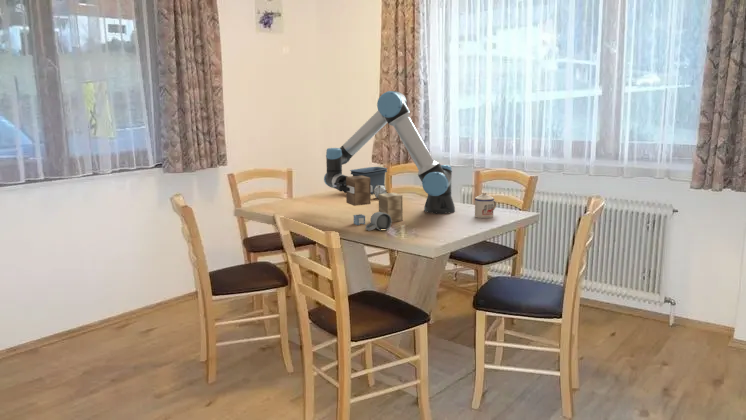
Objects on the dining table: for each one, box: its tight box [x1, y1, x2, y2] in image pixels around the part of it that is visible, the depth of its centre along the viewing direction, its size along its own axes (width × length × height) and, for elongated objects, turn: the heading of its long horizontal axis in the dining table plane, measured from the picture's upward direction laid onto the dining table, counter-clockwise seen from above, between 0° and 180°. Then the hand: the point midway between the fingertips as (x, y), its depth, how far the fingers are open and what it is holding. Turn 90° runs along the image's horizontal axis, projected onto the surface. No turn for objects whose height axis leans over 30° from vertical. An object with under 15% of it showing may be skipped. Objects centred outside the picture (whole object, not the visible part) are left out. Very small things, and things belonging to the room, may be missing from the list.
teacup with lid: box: [474, 191, 497, 219], centre depth 288 cm, size 12×9×12 cm
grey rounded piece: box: [373, 184, 389, 200], centre depth 338 cm, size 9×8×10 cm
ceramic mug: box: [365, 211, 393, 232], centre depth 264 cm, size 11×8×8 cm
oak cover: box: [378, 192, 404, 223], centre depth 282 cm, size 8×8×12 cm
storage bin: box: [349, 166, 388, 195], centre depth 358 cm, size 21×16×14 cm
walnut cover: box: [345, 175, 372, 207], centre depth 273 cm, size 8×8×12 cm
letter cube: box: [353, 214, 366, 226], centre depth 276 cm, size 4×4×4 cm
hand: (362, 189), depth 269 cm, fingers closed on walnut cover, 8 cm apart
